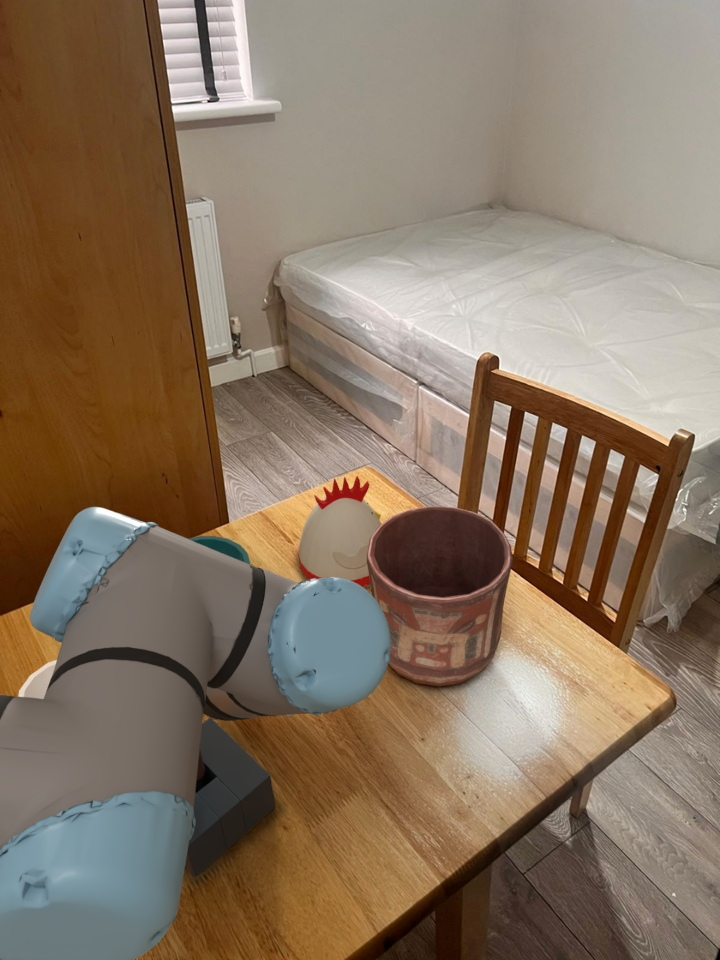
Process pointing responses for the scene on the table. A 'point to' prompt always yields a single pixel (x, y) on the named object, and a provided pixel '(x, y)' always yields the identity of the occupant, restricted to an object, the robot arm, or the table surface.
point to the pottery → (440, 591)
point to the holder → (225, 797)
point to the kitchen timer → (339, 535)
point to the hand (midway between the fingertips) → (159, 688)
